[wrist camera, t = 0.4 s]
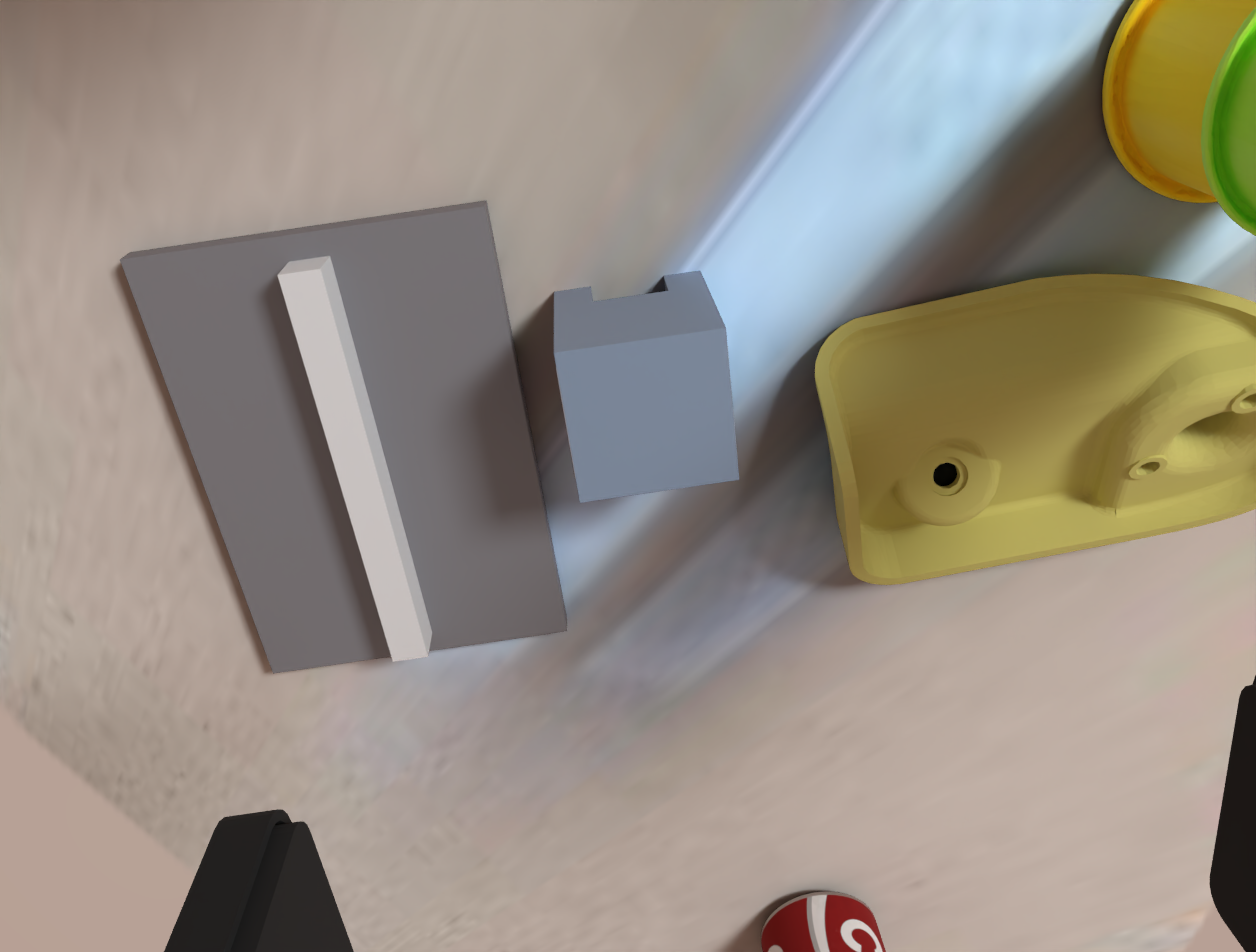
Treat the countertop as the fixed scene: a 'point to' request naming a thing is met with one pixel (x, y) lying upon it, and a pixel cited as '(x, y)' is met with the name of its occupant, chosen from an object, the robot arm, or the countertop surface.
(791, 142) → the countertop surface
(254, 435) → the rail plate
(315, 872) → the robot arm
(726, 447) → the block
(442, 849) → the countertop surface
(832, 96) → the countertop surface
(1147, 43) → the stacking cups
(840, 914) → the soda can
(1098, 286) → the plastic component
